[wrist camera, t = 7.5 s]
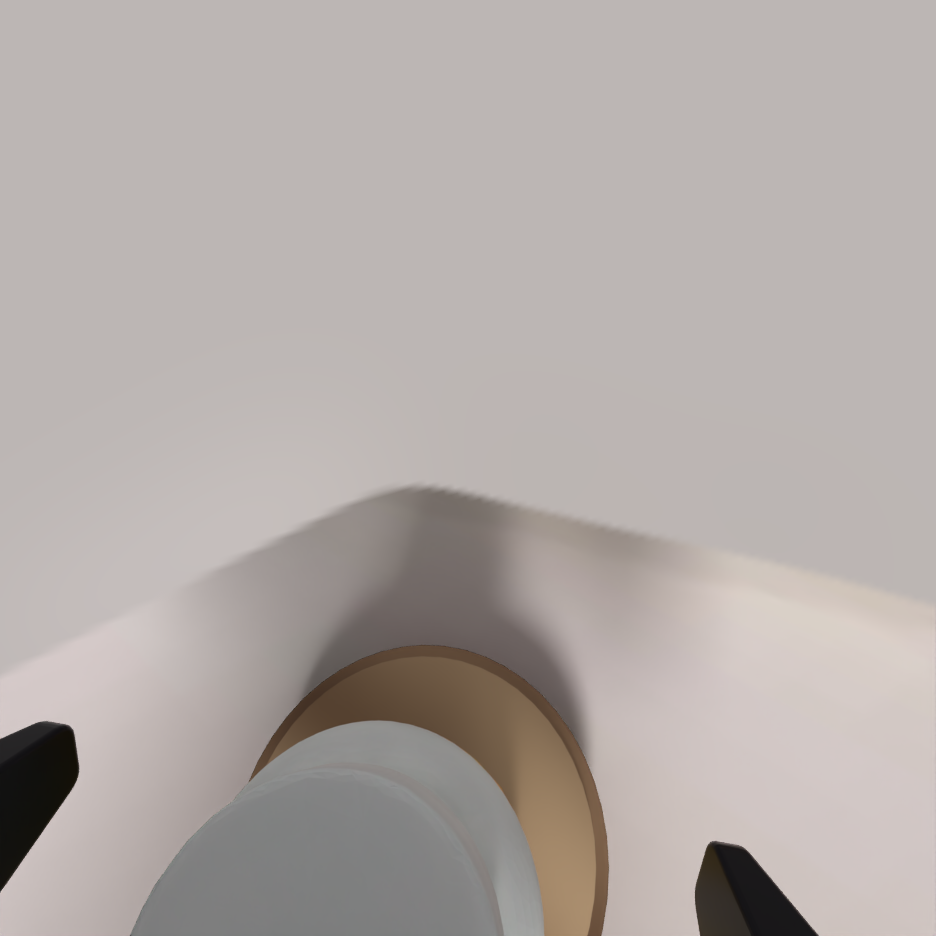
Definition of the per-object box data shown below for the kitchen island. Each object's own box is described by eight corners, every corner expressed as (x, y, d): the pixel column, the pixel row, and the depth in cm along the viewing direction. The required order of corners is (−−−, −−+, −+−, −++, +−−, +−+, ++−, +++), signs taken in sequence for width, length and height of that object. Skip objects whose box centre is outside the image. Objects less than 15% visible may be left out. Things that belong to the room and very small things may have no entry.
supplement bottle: (527, 984, 12) (627, 1476, 4) (297, 996, 12) (-94, 1517, 4) (508, 728, 15) (544, 695, 7) (318, 738, 15) (107, 718, 6)
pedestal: (458, 1172, 13) (452, 1277, 10) (194, 869, 16) (138, 890, 13) (649, 790, 17) (681, 796, 14) (406, 602, 20) (395, 578, 17)
